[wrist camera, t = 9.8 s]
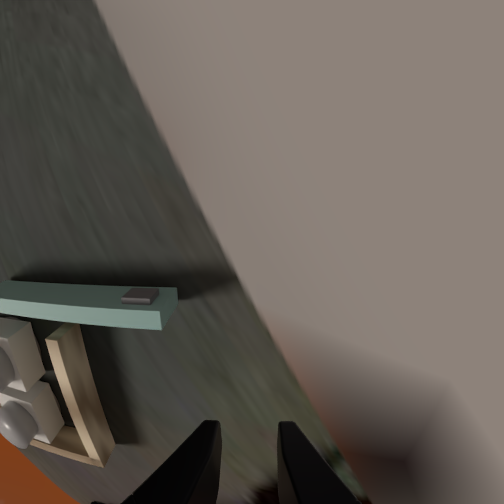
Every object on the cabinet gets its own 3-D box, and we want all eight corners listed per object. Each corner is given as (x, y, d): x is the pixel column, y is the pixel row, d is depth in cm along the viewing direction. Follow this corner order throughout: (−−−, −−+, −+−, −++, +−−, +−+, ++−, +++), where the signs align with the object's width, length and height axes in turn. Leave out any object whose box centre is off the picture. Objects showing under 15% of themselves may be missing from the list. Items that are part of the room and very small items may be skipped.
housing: (115, 444, 22) (104, 467, 19) (4, 411, 22) (-10, 426, 19) (78, 321, 19) (56, 340, 16) (-35, 305, 20) (-55, 316, 17)
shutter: (178, 303, 18) (161, 329, 15) (8, 292, 19) (-21, 309, 15) (176, 281, 18) (158, 304, 15) (4, 275, 18) (-26, 290, 15)
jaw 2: (64, 423, 22) (40, 458, 17) (29, 412, 22) (3, 443, 17) (49, 383, 21) (17, 417, 16) (12, 373, 21) (-19, 402, 16)
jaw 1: (30, 321, 19) (-10, 351, 14) (45, 372, 20) (13, 406, 15) (-6, 316, 19) (-44, 341, 15) (9, 363, 20) (-23, 392, 16)
